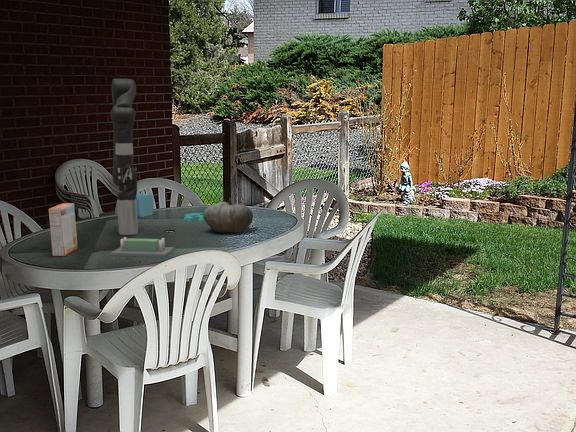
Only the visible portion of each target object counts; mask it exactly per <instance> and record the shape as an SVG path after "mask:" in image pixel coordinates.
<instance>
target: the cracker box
mask: <svg viewBox="0 0 576 432" xmlns="http://www.w3.org/2000/svg"><path fill="white" fill-rule="evenodd" d="M75 209H76V208H75V203H74V202H73V203H69V202H68V203H67V202H64V203H59V204H57V205H55V206H53V207H49V208H48V218H49V229H50V241H51V242H50V243H51V253H52V254H51V256H52V257H66V256H67V255H70V254H71V253H73V252H74V251H76V250H78V238H77V237H78V236H77V224H76V212H75V211H76V210H75Z"/></svg>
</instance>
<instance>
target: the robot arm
mask: <svg viewBox="0 0 576 432" xmlns="http://www.w3.org/2000/svg"><path fill="white" fill-rule="evenodd" d="M136 92H137V87H136V82H135V79H132V78H131V79H130V78H113V79H112V81H111V98H112V108H111V111H110V114H109V115H110V119H111V122H112V137H113V157H112V158H113V159H112V181H113V182H112V183H113V184H114V186H116V187H118V190H119V192H118V193H117V194H116V199H117V201H116V202H117V219H118V220H117V221H118V222H117V223H118V234H119V235H121V236H131V235H132V236H133V235H137V234H138V233H139V229H138V228H139V227H138V226H139V225H138V217H137V201H136V196H137V195H138V174H137V173H138V171H137V170H136V168H135V167H134V146H133V139H134V135H133V134H134V131H133V130H134V124H135V119H136V111H135V109H134V108H133V102H134V100H135V98H136Z"/></svg>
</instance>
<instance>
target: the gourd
mask: <svg viewBox="0 0 576 432" xmlns="http://www.w3.org/2000/svg"><path fill="white" fill-rule="evenodd" d="M202 213H203V216H204V219H205V220H204V222H205V223H206V225H207V226H208V227H210V229H212V230H214V231H215V232H217V233H220V232H222V234H223V232H224V233H240V232H244V231H246V230H248V228H249V227H250V226H251V225H252V223H253V221H254V220H253V218H254V213H253V211H252V210H251V208H249V207H248V206H247V205H245V204H241V203H236V204H233V202H232V199H231V197H229V200H228V202H226V201H219V202H217V203H214V204H213V205H210V206H208V207H206V208H205V209H204V210H203V212H202Z"/></svg>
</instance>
